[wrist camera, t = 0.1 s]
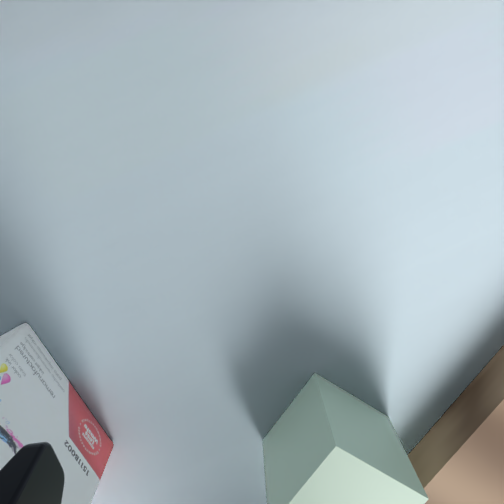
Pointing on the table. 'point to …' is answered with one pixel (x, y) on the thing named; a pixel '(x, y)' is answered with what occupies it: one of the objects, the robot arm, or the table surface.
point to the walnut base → (467, 444)
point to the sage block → (336, 453)
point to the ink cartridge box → (48, 414)
